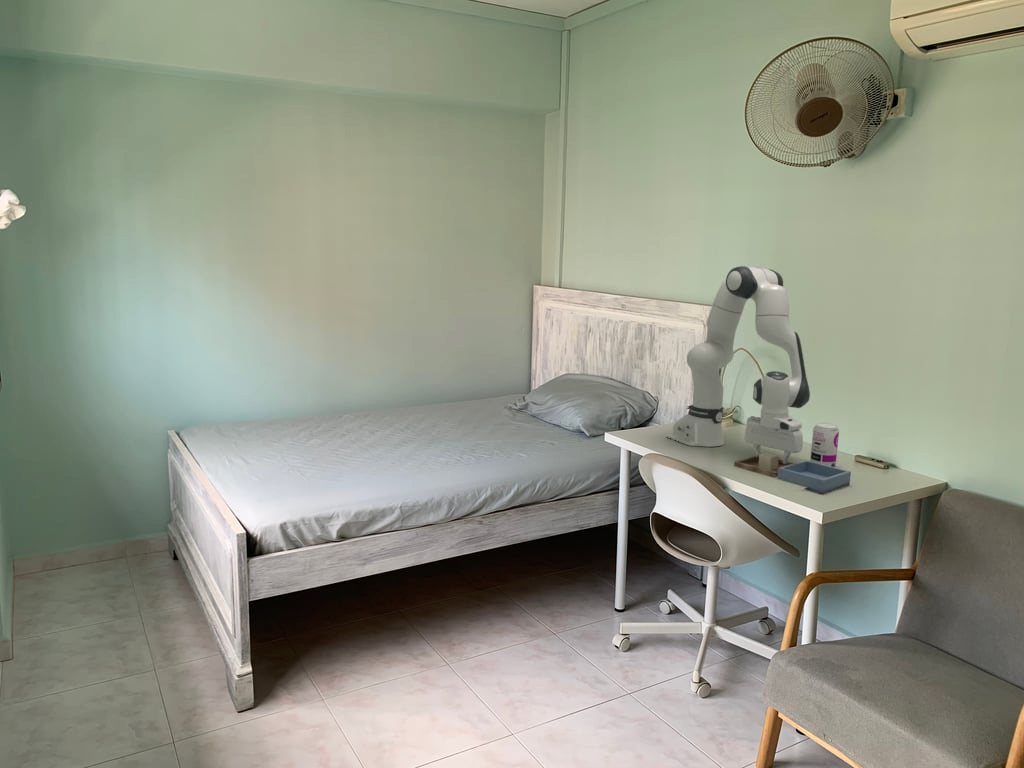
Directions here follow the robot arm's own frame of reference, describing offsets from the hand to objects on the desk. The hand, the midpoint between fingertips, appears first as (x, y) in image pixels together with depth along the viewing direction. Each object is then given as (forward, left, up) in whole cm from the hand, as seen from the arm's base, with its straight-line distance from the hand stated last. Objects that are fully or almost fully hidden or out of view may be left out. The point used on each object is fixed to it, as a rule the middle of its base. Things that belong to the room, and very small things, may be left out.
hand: (771, 460), depth 269 cm
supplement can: (+8, +18, -4) cm, 21 cm away
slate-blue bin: (+16, -1, -4) cm, 17 cm away
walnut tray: (-1, -1, -4) cm, 4 cm away
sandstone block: (-1, -1, -3) cm, 3 cm away
